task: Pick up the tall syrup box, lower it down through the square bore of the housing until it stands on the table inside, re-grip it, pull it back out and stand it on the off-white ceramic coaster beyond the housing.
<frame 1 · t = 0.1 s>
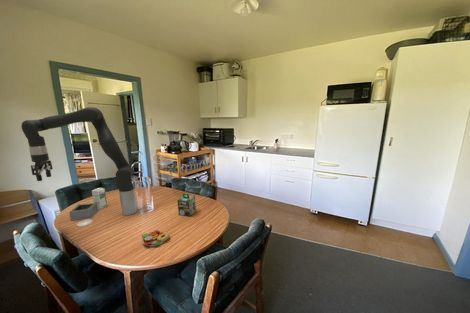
hand: (44, 178, 120), 29 cm above the table, fingers open, 8 cm apart
coaster: (85, 223, 123), on the table
toy food set: (155, 240, 106), on the table
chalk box: (187, 213, 136), on the table
syrup box: (101, 207, 146), on the table
housing: (84, 215, 134), on the table
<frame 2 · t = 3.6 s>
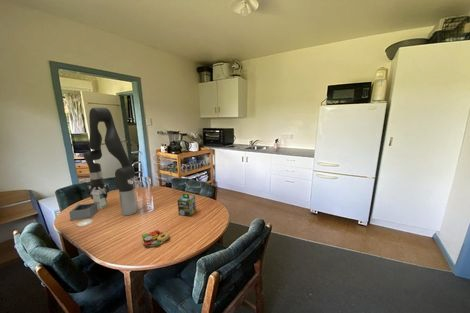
hand: (99, 198, 144), 7 cm above the table, fingers closed on syrup box, 7 cm apart
syrup box: (101, 207, 146), on the table, touching gripper
everything else where it was.
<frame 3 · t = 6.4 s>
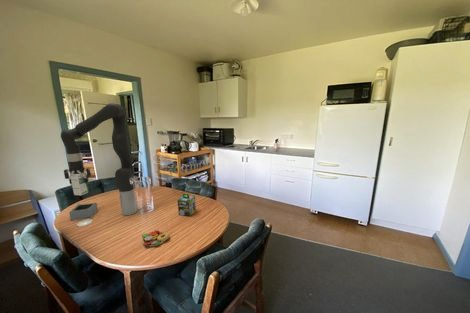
hand: (79, 183, 129), 23 cm above the table, fingers closed on syrup box, 7 cm apart
syrup box: (81, 193, 130), point 16 cm above the table, touching gripper
everything else where it was.
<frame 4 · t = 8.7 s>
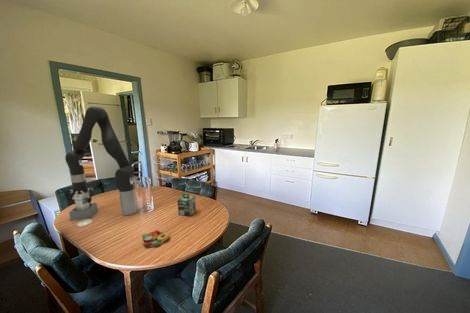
hand: (82, 203, 132), 9 cm above the table, fingers closed on syrup box, 7 cm apart
syrup box: (84, 213, 133), point 2 cm above the table, touching gripper
everything else where it was.
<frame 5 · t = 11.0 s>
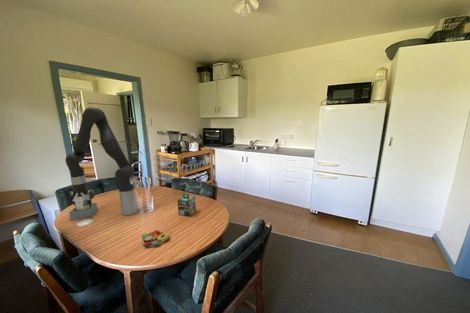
hand: (83, 205, 132), 8 cm above the table, fingers closed on syrup box, 7 cm apart
syrup box: (85, 215, 134), resting in housing, touching gripper
everything else where it was.
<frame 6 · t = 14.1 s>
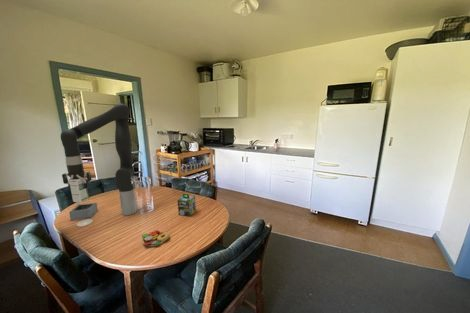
hand: (79, 188, 119), 23 cm above the table, fingers closed on syrup box, 7 cm apart
syrup box: (81, 200, 120), point 15 cm above the table, touching gripper
everything else where it was.
when the fingers open (9 cm above the table, at t = 17.2 s): syrup box stays where it is, resting on coaster.
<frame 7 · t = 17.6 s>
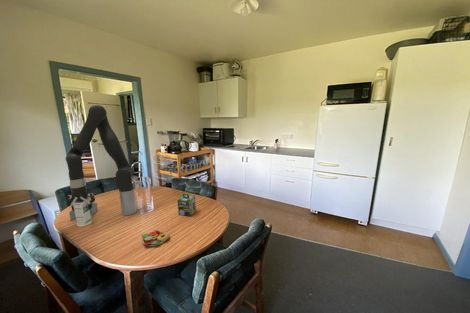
hand: (82, 209, 122), 9 cm above the table, fingers open, 8 cm apart
syrup box: (85, 222, 123), resting on coaster
everything else where it was.
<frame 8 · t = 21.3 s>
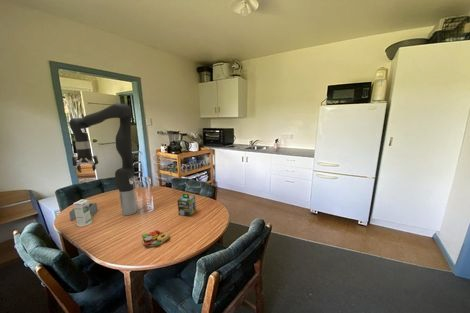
hand: (87, 170, 134), 30 cm above the table, fingers open, 8 cm apart
nothing on the table moved.
at the end: syrup box 0.0 cm from the coaster (horizontally); syrup box tilted 0°; the gripper is holding nothing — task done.
